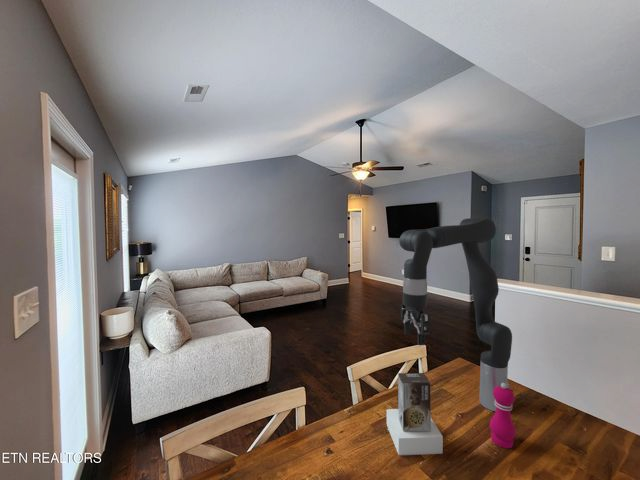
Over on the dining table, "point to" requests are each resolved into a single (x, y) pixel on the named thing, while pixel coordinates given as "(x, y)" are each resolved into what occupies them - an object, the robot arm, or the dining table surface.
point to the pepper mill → (502, 417)
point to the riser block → (413, 437)
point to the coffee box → (414, 402)
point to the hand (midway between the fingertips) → (414, 339)
